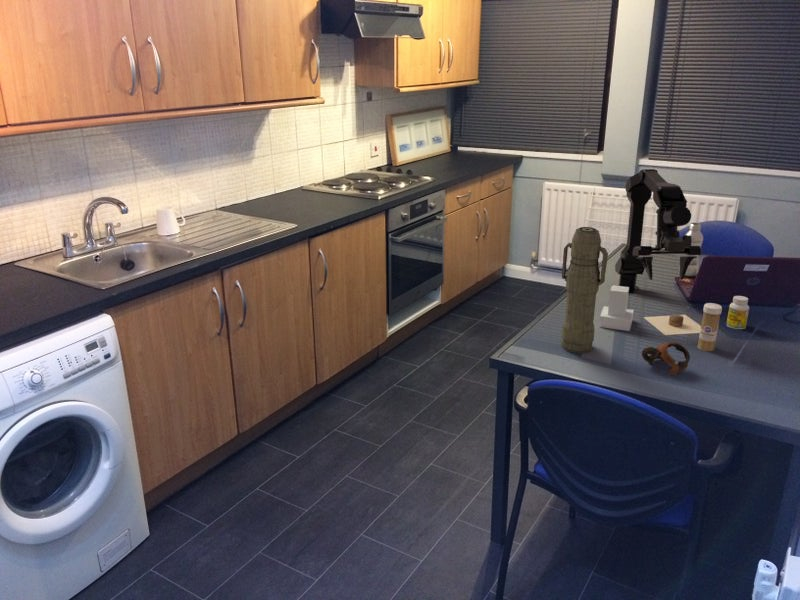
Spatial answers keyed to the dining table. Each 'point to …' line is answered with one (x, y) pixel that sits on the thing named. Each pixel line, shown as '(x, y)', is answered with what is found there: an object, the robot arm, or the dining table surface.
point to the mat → (666, 329)
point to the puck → (676, 320)
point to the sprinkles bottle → (709, 326)
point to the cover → (617, 310)
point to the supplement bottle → (738, 313)
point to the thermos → (582, 288)
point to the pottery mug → (667, 356)
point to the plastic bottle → (696, 241)
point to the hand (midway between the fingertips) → (666, 279)
